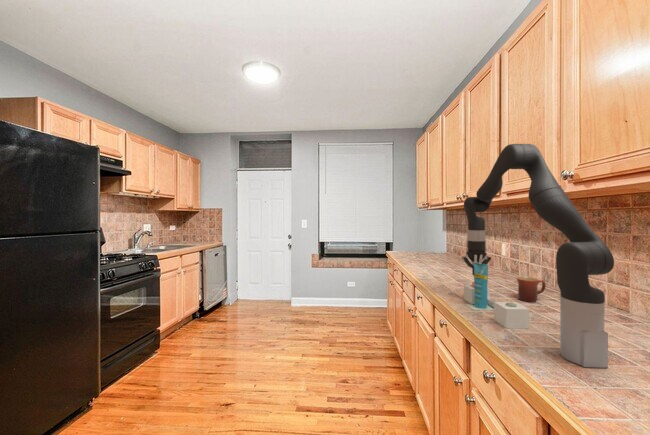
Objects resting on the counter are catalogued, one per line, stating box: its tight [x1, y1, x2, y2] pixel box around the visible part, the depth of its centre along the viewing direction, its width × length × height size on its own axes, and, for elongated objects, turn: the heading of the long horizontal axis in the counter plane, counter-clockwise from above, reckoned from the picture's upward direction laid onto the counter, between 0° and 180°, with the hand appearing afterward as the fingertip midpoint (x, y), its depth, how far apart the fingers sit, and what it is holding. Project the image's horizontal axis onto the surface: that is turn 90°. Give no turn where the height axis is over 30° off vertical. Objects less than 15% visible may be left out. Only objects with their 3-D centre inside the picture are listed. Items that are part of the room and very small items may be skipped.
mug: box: [516, 276, 546, 303], centre depth 132 cm, size 12×9×10 cm
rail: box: [487, 298, 497, 309], centre depth 118 cm, size 18×2×2 cm, turn 177°
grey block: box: [463, 284, 491, 305], centre depth 131 cm, size 8×8×7 cm
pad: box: [466, 304, 494, 311], centre depth 123 cm, size 6×9×1 cm, turn 87°
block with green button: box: [493, 301, 530, 330], centre depth 104 cm, size 8×8×8 cm
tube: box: [473, 262, 489, 309], centre depth 122 cm, size 7×5×19 cm, turn 24°
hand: (476, 276), depth 131 cm, fingers closed
